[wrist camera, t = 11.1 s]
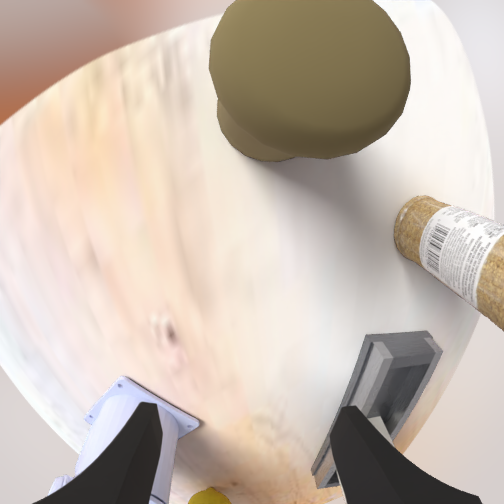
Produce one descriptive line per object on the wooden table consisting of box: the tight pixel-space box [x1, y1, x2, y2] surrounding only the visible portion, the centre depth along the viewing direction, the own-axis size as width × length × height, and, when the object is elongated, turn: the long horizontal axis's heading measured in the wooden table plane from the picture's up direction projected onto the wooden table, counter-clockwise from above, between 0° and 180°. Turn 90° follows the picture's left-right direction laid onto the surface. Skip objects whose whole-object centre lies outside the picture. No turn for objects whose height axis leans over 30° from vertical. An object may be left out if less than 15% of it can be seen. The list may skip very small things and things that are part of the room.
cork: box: [209, 0, 411, 162], centre depth 10 cm, size 6×6×11 cm
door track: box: [311, 331, 443, 489], centre depth 22 cm, size 20×6×3 cm, turn 175°
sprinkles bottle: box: [394, 196, 504, 331], centre depth 11 cm, size 5×5×13 cm
